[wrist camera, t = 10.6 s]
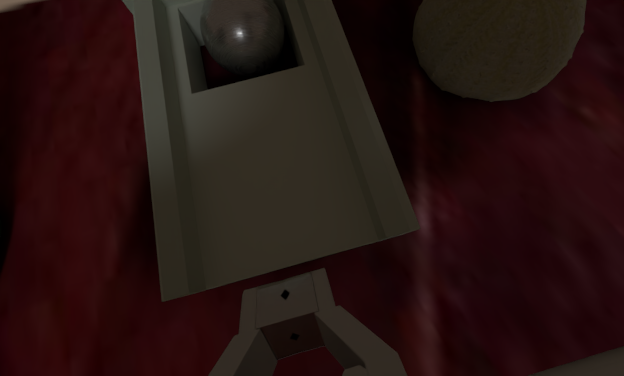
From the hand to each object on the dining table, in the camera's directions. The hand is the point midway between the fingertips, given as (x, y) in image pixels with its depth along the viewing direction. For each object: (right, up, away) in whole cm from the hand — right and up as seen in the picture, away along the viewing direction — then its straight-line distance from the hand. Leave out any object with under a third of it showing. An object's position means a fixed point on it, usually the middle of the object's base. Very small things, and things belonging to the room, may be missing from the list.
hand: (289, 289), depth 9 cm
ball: (-3, +13, +6) cm, 15 cm away
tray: (-2, +8, +7) cm, 11 cm away
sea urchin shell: (+12, +13, +9) cm, 20 cm away
